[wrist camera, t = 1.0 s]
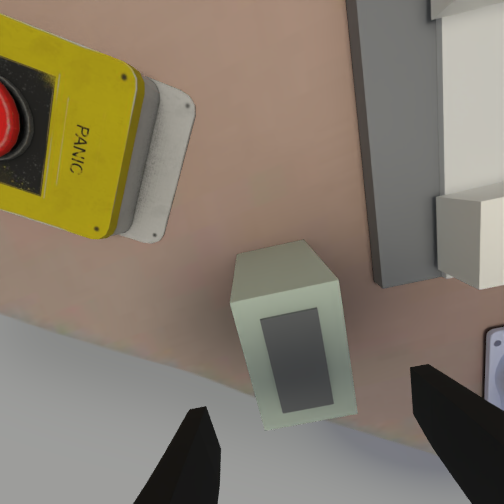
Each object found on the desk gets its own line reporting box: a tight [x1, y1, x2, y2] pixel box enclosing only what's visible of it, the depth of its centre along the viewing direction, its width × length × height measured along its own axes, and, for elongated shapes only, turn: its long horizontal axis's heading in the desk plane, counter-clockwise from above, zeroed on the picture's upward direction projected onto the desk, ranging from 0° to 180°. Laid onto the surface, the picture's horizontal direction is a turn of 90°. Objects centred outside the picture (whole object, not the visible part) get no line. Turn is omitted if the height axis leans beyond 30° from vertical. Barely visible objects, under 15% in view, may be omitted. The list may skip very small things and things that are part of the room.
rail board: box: [346, 0, 504, 290], centre depth 13 cm, size 19×11×5 cm, turn 13°
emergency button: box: [0, 13, 196, 243], centre depth 14 cm, size 9×4×15 cm
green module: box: [230, 240, 358, 431], centre depth 15 cm, size 7×4×7 cm, turn 13°
